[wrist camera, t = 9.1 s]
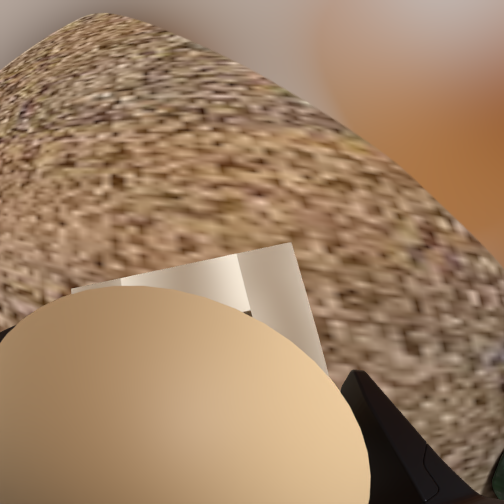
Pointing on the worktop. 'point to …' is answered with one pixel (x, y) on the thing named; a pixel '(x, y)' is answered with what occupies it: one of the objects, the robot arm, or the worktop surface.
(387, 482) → the robot arm
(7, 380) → the wooden stick
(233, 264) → the socket block
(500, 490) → the coffee jar
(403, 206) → the worktop surface
